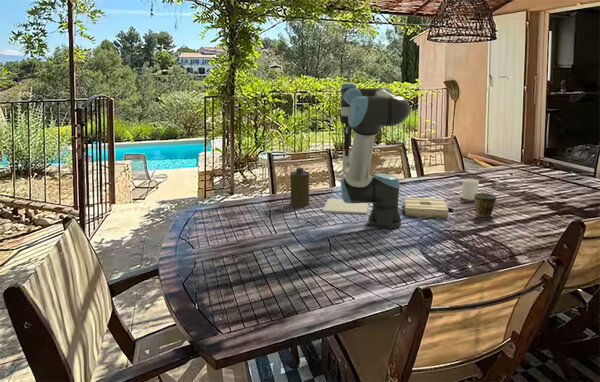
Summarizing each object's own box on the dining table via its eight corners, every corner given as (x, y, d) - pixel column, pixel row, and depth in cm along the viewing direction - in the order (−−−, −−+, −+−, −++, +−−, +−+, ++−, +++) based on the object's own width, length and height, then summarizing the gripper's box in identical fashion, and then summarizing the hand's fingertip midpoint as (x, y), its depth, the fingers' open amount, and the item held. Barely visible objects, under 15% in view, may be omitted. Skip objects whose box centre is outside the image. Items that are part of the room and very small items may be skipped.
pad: (366, 214, 221) (366, 212, 220) (322, 212, 225) (322, 210, 224) (368, 202, 242) (368, 200, 241) (328, 200, 246) (328, 198, 245)
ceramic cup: (476, 211, 225) (478, 191, 222) (497, 214, 219) (499, 195, 216) (467, 217, 215) (469, 197, 212) (488, 221, 209) (491, 201, 206)
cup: (463, 199, 245) (465, 182, 242) (457, 194, 256) (459, 177, 254) (479, 200, 244) (480, 182, 242) (472, 194, 256) (474, 177, 253)
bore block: (447, 217, 214) (448, 210, 213) (405, 215, 218) (405, 208, 217) (442, 206, 233) (443, 198, 232) (404, 204, 237) (404, 197, 236)
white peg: (351, 173, 226) (351, 147, 222) (341, 172, 227) (342, 147, 223) (352, 171, 230) (352, 146, 227) (342, 171, 231) (343, 146, 228)
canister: (307, 207, 233) (307, 170, 228) (288, 206, 235) (287, 169, 230) (311, 202, 243) (311, 166, 238) (292, 201, 245) (292, 165, 240)
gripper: (354, 117, 212) (353, 164, 218) (357, 113, 229) (355, 158, 235) (338, 116, 213) (338, 164, 219) (342, 113, 230) (341, 157, 236)
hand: (347, 161), depth 227 cm, fingers closed on white peg, 5 cm apart
